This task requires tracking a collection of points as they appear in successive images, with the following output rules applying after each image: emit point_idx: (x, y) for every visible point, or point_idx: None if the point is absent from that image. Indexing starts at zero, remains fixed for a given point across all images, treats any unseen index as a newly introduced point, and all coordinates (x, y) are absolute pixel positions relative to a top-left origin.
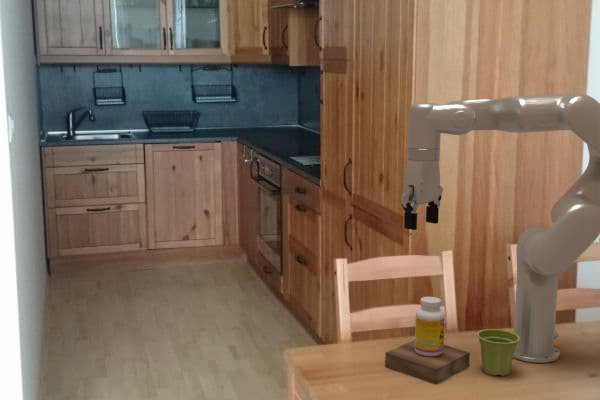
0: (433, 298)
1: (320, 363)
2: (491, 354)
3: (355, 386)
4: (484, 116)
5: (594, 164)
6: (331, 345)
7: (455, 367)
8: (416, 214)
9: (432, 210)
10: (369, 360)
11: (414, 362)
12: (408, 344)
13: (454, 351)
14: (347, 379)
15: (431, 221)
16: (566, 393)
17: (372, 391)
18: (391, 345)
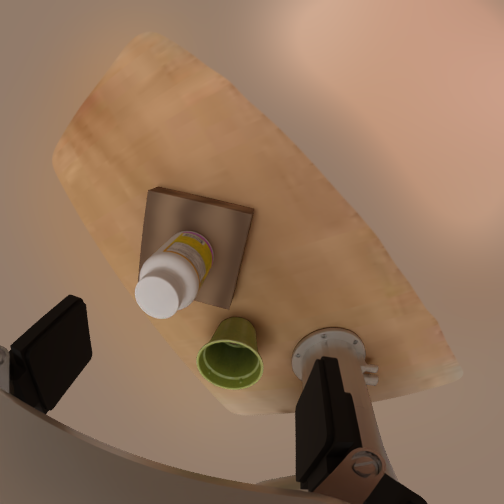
0: (166, 301)
1: (120, 96)
2: (208, 348)
3: (83, 184)
4: None
5: None
6: (196, 64)
7: None
8: (41, 407)
9: (306, 453)
10: (168, 152)
11: (141, 247)
12: (204, 209)
13: (219, 288)
14: (94, 162)
15: (305, 391)
16: (218, 397)
17: (84, 210)
18: (254, 153)
